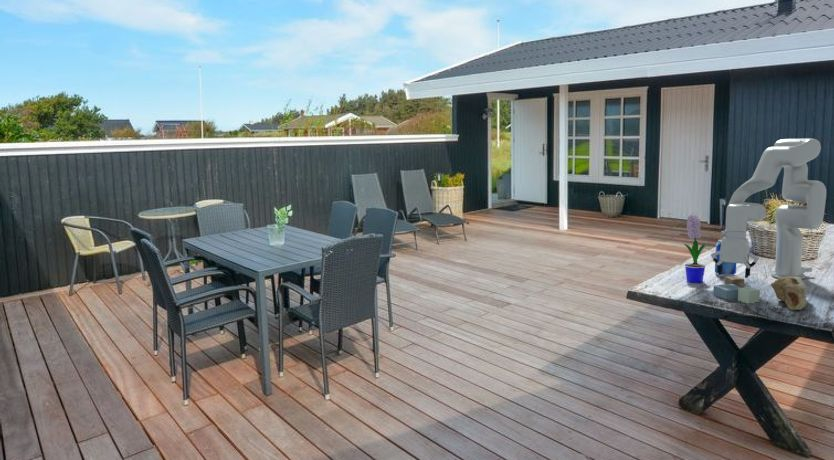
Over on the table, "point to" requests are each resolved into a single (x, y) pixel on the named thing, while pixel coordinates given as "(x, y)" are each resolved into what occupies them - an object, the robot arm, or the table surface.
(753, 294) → the sage cube
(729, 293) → the base block
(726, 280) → the walnut cube
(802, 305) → the stone
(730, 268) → the beer can
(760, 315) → the table surface
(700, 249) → the hyacinth
